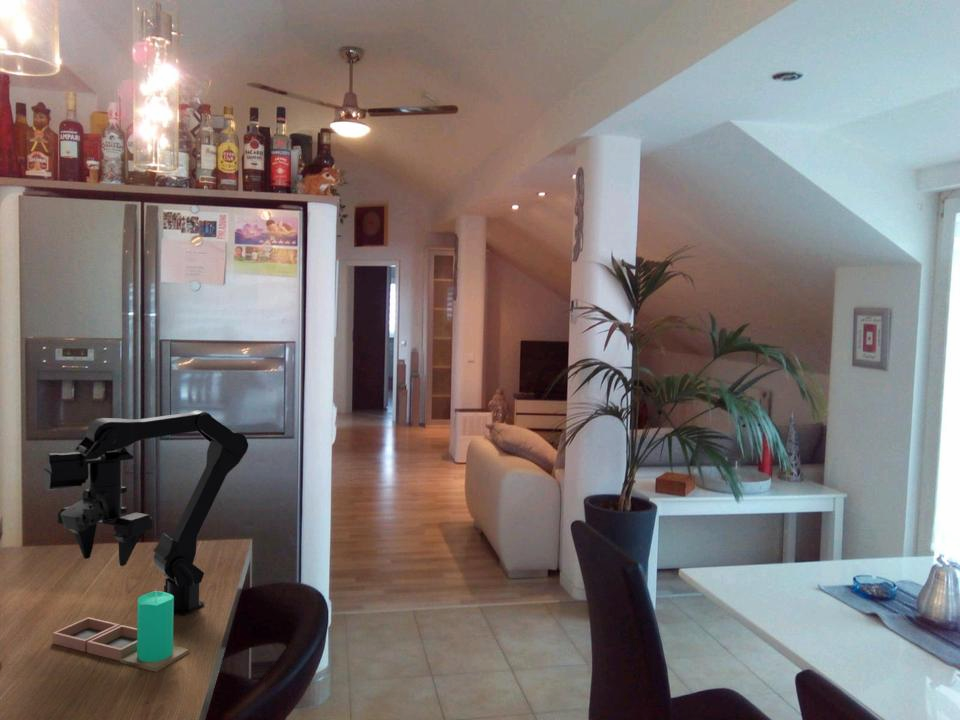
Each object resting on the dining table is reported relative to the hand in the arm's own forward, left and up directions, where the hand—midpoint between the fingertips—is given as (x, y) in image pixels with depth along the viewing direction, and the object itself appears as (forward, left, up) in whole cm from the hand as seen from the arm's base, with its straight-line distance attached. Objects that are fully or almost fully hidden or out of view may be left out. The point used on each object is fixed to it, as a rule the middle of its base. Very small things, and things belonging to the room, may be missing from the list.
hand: (104, 561), depth 146 cm
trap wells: (-6, +5, -13) cm, 15 cm away
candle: (-18, +6, -13) cm, 23 cm away
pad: (-19, +6, -13) cm, 23 cm away
